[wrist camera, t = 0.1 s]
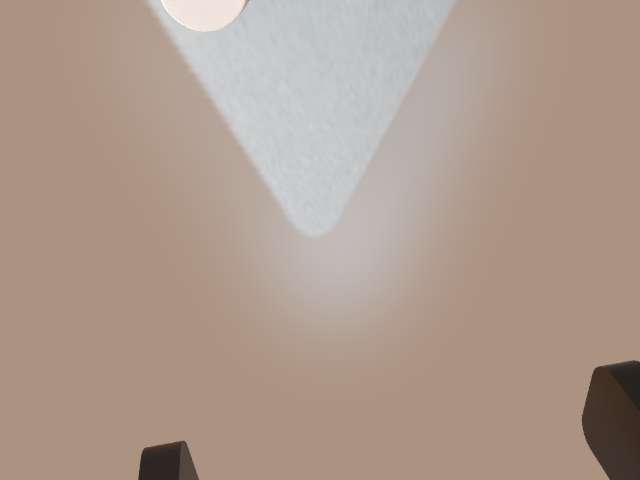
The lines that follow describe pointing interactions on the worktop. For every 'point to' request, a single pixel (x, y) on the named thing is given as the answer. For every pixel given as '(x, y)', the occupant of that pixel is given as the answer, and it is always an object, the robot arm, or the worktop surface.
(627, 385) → the robot arm
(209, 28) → the supplement bottle
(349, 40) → the worktop surface
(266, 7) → the worktop surface
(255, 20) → the worktop surface
